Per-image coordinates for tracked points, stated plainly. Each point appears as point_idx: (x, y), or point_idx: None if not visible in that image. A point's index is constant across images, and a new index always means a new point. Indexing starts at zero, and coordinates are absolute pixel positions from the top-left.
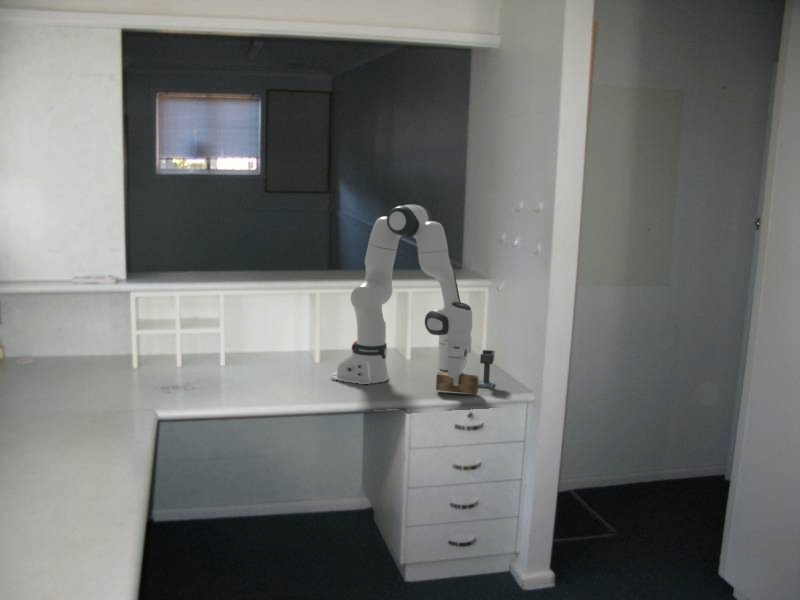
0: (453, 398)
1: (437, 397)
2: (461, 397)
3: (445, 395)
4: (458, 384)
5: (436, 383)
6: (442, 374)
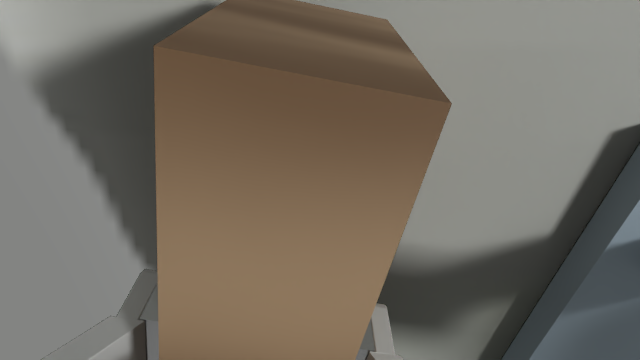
0: (113, 186)
1: (80, 6)
2: None
3: None
4: None
5: (218, 8)
6: (204, 200)
